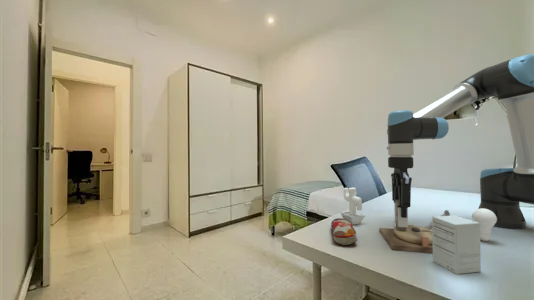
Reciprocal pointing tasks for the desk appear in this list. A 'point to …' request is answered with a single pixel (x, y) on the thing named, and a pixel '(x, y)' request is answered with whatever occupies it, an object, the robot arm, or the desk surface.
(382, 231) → the stand
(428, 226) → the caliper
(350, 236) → the pencil case
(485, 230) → the lightbulb
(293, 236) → the desk surface
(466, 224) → the supplement box
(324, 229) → the desk surface
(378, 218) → the desk surface
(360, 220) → the figurine
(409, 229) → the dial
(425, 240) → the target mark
